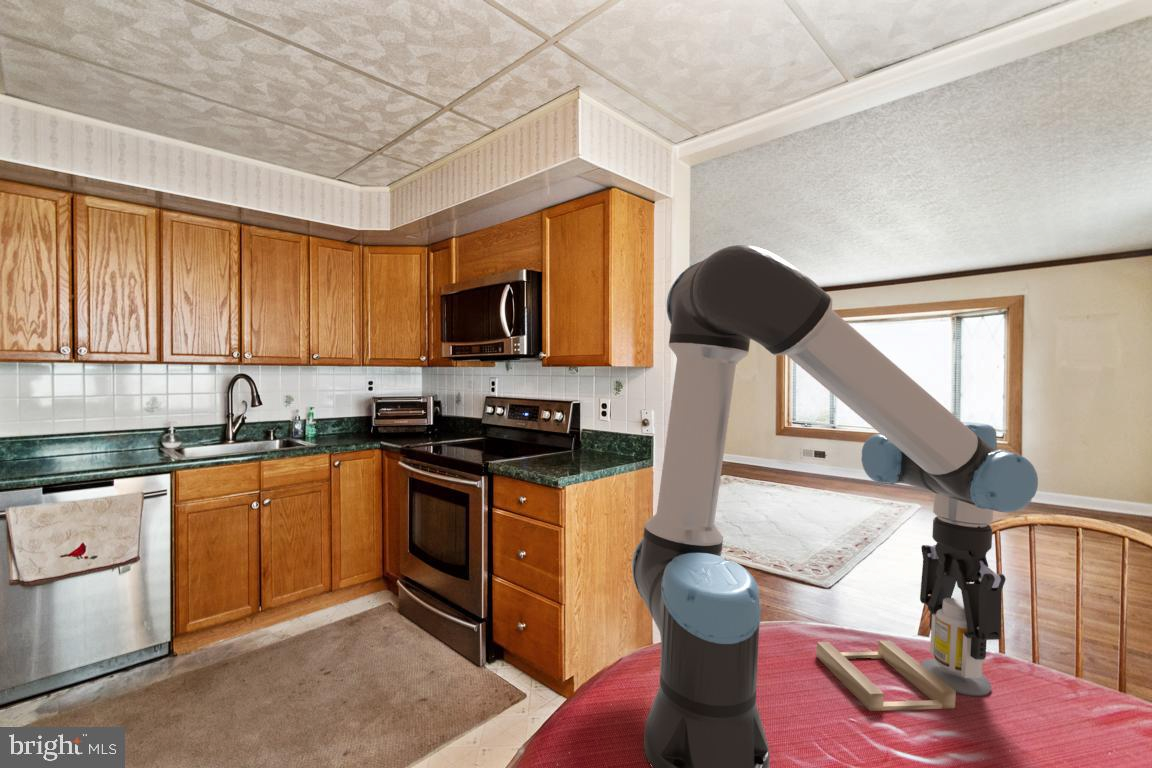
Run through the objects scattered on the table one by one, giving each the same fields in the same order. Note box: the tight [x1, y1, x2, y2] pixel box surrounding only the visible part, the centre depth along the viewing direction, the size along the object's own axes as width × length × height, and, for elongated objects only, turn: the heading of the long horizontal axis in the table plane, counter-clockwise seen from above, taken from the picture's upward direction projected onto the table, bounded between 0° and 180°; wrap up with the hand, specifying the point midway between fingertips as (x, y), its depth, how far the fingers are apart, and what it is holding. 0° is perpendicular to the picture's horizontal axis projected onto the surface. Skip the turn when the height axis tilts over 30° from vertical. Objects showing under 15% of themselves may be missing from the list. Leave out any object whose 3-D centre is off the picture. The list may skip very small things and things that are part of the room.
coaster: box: [920, 658, 992, 697], centre depth 83 cm, size 9×9×1 cm
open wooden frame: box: [816, 639, 957, 712], centre depth 82 cm, size 13×14×2 cm
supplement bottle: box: [933, 597, 979, 674], centre depth 82 cm, size 6×6×10 cm
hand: (954, 664), depth 83 cm, fingers closed on supplement bottle, 5 cm apart
